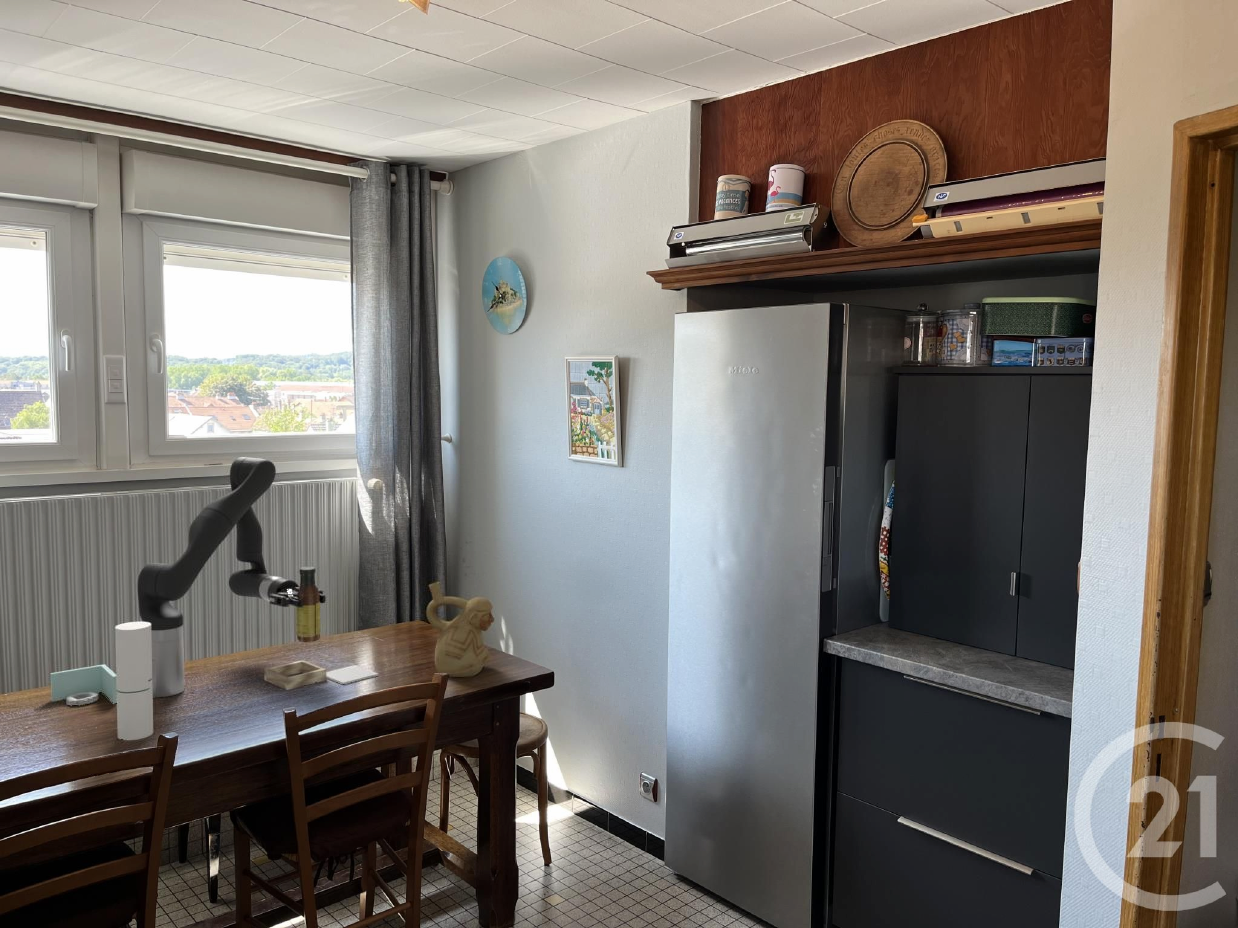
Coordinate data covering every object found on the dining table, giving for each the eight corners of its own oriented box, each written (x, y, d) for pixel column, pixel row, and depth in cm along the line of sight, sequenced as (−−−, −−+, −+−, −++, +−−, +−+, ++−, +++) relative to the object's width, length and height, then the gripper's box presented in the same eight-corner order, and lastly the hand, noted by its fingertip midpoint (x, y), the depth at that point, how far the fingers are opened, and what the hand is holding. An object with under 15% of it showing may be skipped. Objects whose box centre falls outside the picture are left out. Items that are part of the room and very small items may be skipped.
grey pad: (343, 684, 246) (343, 682, 246) (320, 675, 253) (320, 673, 253) (378, 675, 255) (378, 673, 254) (354, 666, 262) (354, 664, 262)
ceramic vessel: (484, 682, 251) (485, 591, 249) (415, 677, 254) (416, 587, 252) (502, 664, 267) (503, 579, 265) (437, 659, 270) (437, 575, 268)
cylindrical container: (158, 728, 213) (156, 621, 211) (144, 740, 206) (141, 630, 204) (127, 728, 213) (124, 621, 210) (111, 739, 205) (108, 629, 203)
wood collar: (287, 689, 241) (287, 678, 241) (264, 680, 248) (264, 669, 248) (326, 679, 250) (326, 668, 250) (303, 670, 257) (303, 660, 257)
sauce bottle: (311, 635, 254) (313, 564, 253) (325, 639, 251) (326, 567, 249) (290, 639, 249) (291, 567, 248) (303, 644, 245) (304, 570, 244)
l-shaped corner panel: (51, 702, 229) (50, 673, 229) (105, 692, 237) (104, 664, 237) (62, 716, 220) (61, 685, 220) (118, 705, 229) (117, 675, 228)
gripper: (254, 581, 252) (288, 591, 241) (302, 574, 263) (336, 583, 253) (255, 608, 253) (288, 620, 242) (302, 599, 264) (336, 610, 253)
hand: (312, 601), depth 247 cm, fingers closed on sauce bottle, 6 cm apart
